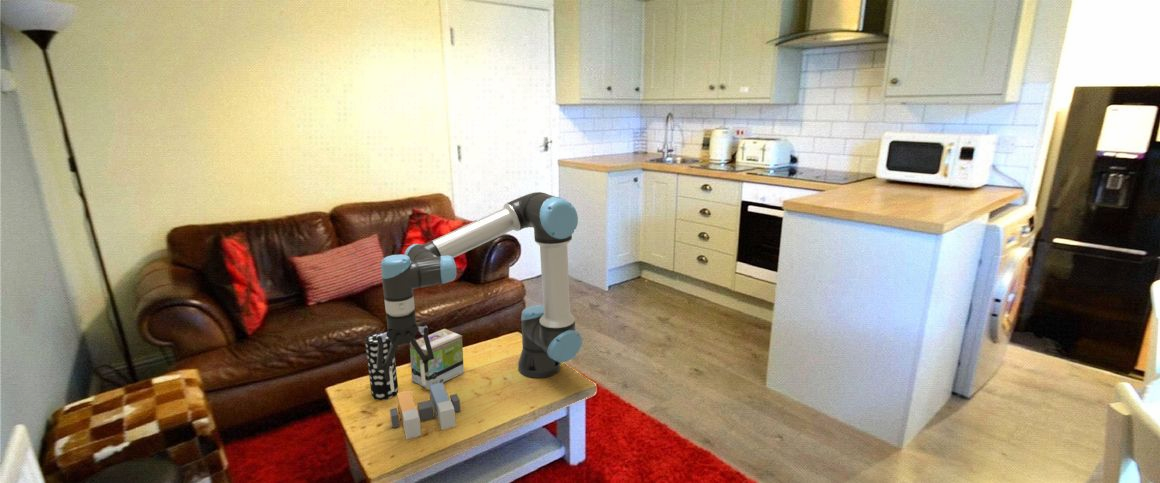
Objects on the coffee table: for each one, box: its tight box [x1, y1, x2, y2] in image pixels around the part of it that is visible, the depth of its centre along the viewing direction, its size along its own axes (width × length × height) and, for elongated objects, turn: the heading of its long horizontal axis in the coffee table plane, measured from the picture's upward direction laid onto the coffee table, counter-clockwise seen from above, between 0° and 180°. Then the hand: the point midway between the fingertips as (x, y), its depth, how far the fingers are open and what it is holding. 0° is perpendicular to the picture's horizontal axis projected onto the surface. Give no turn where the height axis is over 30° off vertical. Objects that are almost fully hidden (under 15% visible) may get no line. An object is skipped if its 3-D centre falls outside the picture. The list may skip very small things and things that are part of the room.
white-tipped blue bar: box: [429, 382, 456, 431], centre depth 163 cm, size 4×18×6 cm, turn 25°
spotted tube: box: [364, 331, 399, 401], centre depth 171 cm, size 8×8×20 cm
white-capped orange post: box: [396, 389, 422, 440], centre depth 159 cm, size 4×18×6 cm, turn 25°
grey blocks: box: [389, 393, 461, 429], centre depth 161 cm, size 20×4×4 cm, turn 115°
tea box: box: [409, 328, 465, 391], centre depth 182 cm, size 15×10×15 cm
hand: (408, 385), depth 150 cm, fingers open, 8 cm apart
